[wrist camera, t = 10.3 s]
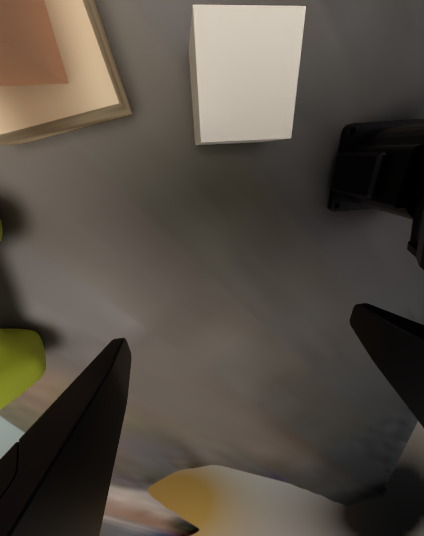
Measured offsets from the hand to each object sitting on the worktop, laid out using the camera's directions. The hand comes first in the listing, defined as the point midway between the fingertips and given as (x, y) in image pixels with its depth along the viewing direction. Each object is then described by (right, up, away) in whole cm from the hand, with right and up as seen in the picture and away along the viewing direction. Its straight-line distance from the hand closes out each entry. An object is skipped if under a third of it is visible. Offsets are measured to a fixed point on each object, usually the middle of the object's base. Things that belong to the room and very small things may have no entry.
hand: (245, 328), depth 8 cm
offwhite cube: (0, +14, +6) cm, 15 cm away
